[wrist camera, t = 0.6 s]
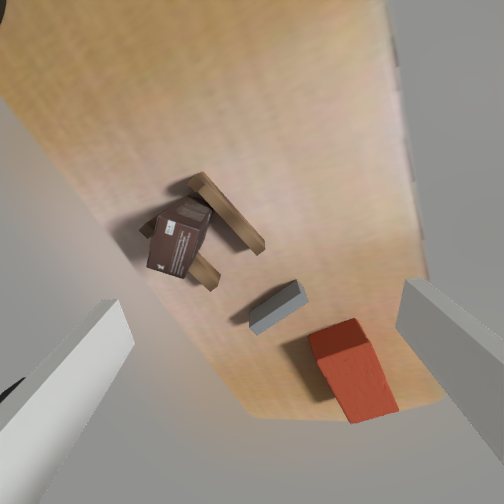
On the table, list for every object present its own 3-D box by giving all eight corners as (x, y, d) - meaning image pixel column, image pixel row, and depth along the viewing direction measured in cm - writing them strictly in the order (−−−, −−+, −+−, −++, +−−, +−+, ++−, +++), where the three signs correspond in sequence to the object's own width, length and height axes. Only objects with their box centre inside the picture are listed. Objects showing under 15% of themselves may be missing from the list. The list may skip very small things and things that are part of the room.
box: (206, 241, 36) (183, 281, 25) (177, 231, 35) (141, 267, 24) (218, 204, 33) (199, 230, 22) (187, 192, 33) (153, 213, 22)
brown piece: (152, 221, 34) (138, 230, 30) (203, 171, 32) (195, 174, 28) (214, 280, 38) (209, 295, 34) (264, 240, 35) (265, 252, 31)
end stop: (249, 311, 41) (249, 327, 37) (296, 279, 38) (300, 293, 34) (257, 319, 41) (257, 335, 37) (303, 287, 39) (308, 301, 35)
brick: (307, 334, 43) (315, 361, 37) (355, 316, 41) (371, 341, 35) (340, 394, 49) (350, 425, 43) (383, 381, 47) (400, 411, 42)
